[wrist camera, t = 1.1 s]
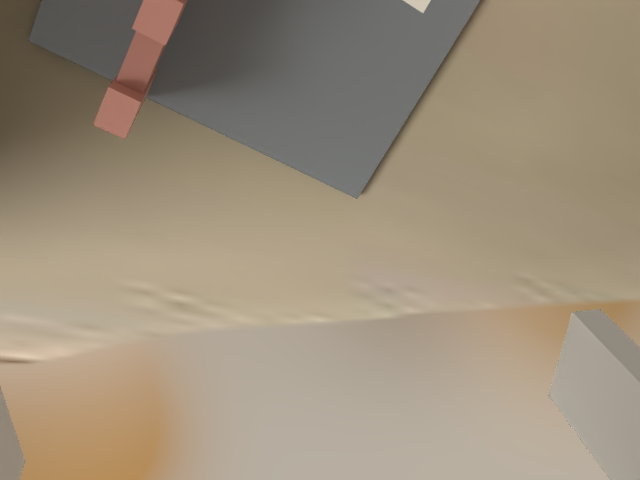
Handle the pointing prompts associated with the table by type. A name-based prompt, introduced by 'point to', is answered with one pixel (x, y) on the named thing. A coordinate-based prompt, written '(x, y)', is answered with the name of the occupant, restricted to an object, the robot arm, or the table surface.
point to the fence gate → (138, 65)
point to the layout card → (279, 70)
